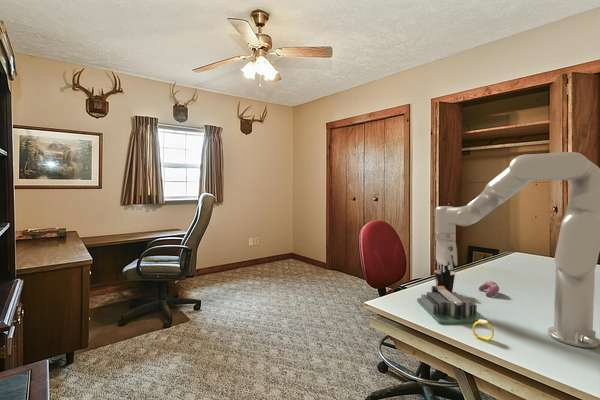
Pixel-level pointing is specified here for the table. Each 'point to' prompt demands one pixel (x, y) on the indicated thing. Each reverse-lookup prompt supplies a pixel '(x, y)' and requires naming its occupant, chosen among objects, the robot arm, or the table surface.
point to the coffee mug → (446, 284)
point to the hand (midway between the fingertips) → (445, 281)
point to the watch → (483, 324)
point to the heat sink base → (449, 308)
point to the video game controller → (489, 288)
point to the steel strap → (449, 296)
